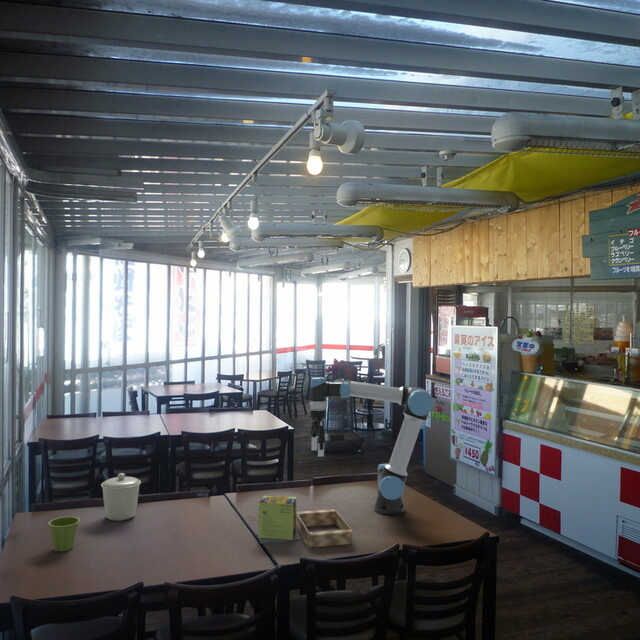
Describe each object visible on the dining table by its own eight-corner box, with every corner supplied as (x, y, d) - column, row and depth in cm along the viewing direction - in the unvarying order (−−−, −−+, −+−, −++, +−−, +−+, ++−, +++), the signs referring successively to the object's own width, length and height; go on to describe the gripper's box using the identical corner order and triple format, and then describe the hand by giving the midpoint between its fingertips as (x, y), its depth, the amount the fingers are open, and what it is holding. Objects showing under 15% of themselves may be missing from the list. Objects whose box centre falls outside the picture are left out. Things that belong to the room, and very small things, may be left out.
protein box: (293, 540, 246) (293, 503, 246) (258, 538, 247) (258, 502, 247) (296, 531, 256) (296, 496, 256) (262, 529, 258) (262, 495, 258)
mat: (294, 530, 259) (294, 528, 260) (299, 540, 248) (299, 538, 248) (256, 533, 255) (256, 531, 255) (260, 543, 244) (260, 541, 244)
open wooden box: (334, 521, 271) (335, 509, 271) (353, 545, 242) (354, 531, 242) (295, 525, 267) (295, 512, 267) (309, 549, 238) (309, 535, 238)
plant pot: (59, 556, 228) (59, 528, 228) (41, 550, 234) (42, 522, 235) (85, 547, 238) (85, 519, 238) (68, 541, 244) (68, 514, 245)
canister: (92, 520, 270) (92, 475, 270) (118, 509, 287) (119, 467, 287) (122, 526, 263) (123, 480, 263) (148, 514, 280) (149, 470, 280)
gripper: (304, 406, 290) (304, 448, 290) (316, 413, 266) (316, 459, 266) (319, 405, 292) (318, 447, 292) (332, 413, 268) (331, 458, 268)
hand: (317, 453), depth 279 cm, fingers open, 13 cm apart
